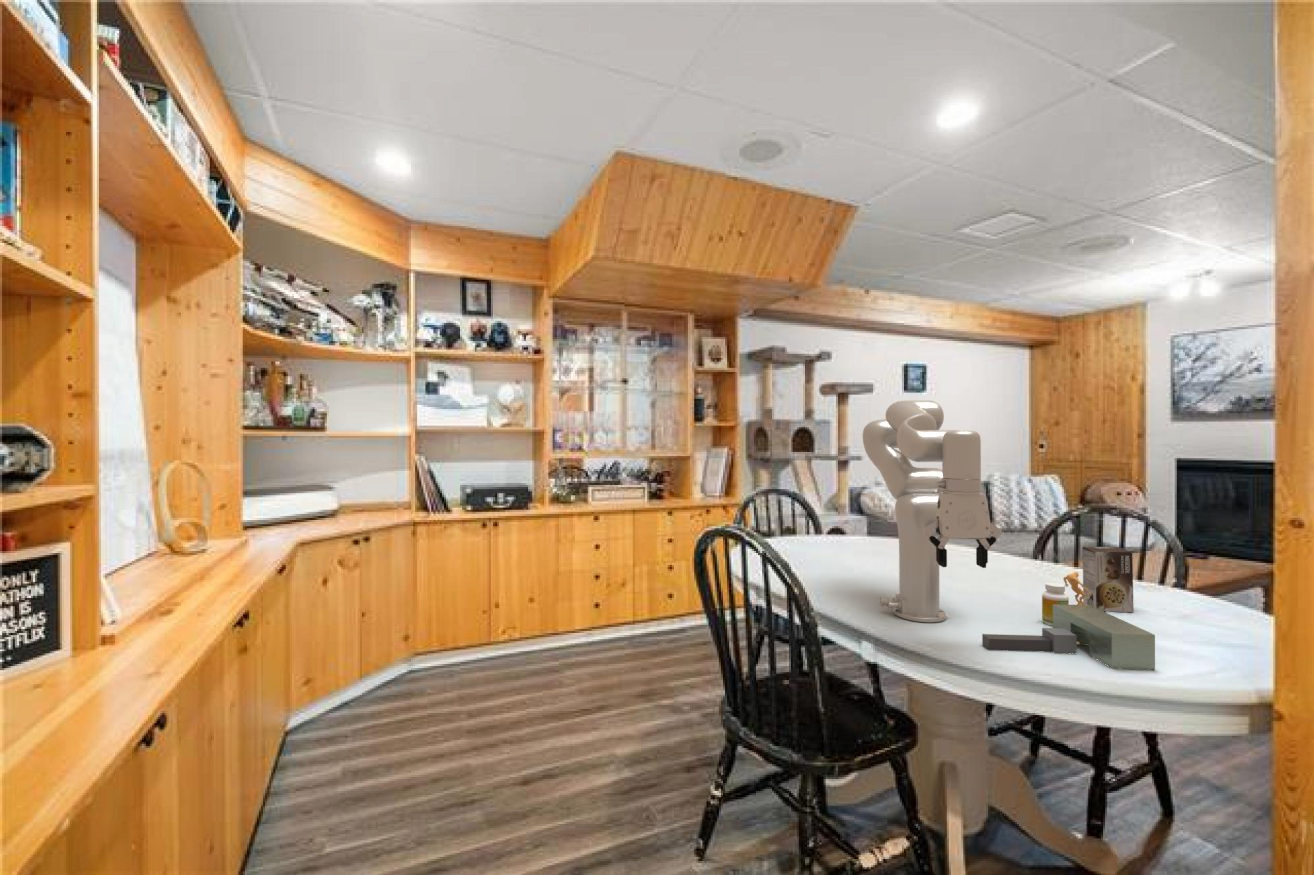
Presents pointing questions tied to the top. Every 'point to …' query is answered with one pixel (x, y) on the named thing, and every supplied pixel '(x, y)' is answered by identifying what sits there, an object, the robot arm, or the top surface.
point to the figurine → (1076, 586)
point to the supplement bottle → (1052, 600)
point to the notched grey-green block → (1107, 636)
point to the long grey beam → (1034, 641)
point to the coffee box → (1108, 578)
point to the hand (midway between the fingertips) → (961, 565)
